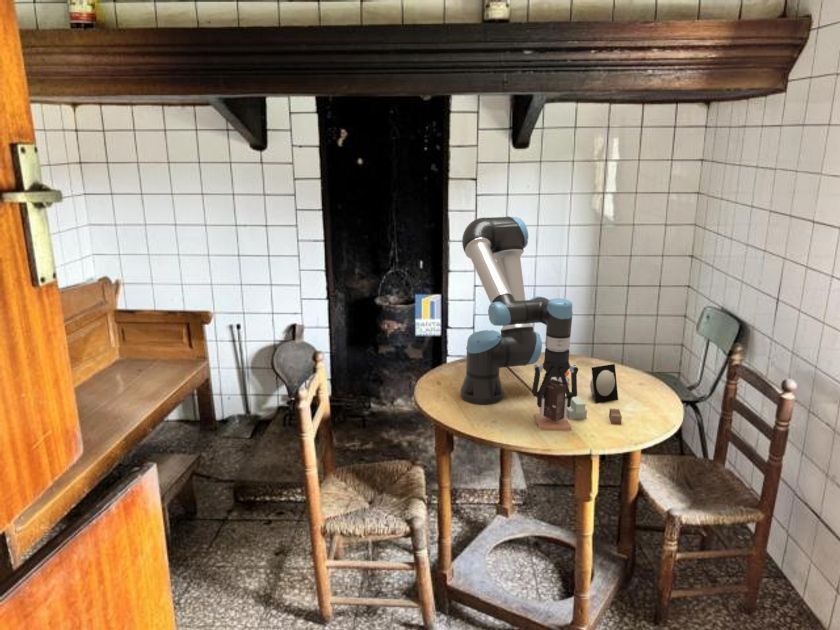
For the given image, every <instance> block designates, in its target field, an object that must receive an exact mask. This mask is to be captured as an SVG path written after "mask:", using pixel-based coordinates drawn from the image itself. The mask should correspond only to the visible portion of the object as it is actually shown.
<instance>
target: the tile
mask: <svg viewBox="0 0 840 630" xmlns="http://www.w3.org/2000/svg"><path fill="white" fill-rule="evenodd" d="M534 419H535V421H536V425H537V427H538V429H539V431H572V426H571V424H570V422H569V419H568V417H566V418H564V419H561V420H559V421H553V420H551V419H549V418H547V417H545V416H543V418H541V416H540V413H535V414H534Z"/></svg>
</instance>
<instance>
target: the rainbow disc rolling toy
mask: <svg viewBox="0 0 840 630" xmlns="http://www.w3.org/2000/svg"><path fill="white" fill-rule="evenodd" d="M569 371H570V370H568V371H567V372H566V373H565V377H566V381H567V384H568V385H569V382H570V378H569V377H568V376H569V374H570V372H569ZM545 374H546V372H545V373H544V375H543V377H542V378H543V380H544V377H545ZM551 379H554V380H556V381H559V382H561V383H562V380H561V377H552V378H551Z"/></svg>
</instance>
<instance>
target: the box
mask: <svg viewBox="0 0 840 630" xmlns="http://www.w3.org/2000/svg"><path fill="white" fill-rule="evenodd" d="M565 392H566V384H563V383H561V382H559V381H556V380H554V379H551V380H550V381H549V383H548V385H547V388H546V390H545V392H544V395H543V397H544V399H545V400H544V416H545V417H547V418H549V419H551V420H553V421H559V420H561V419H564V407H565V396H566V393H565Z"/></svg>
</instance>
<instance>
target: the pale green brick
mask: <svg viewBox="0 0 840 630" xmlns="http://www.w3.org/2000/svg"><path fill="white" fill-rule="evenodd" d="M570 407H571V408H572V409H573V410H574V411H575V413H585V409H586V403H585V402H584V401H583V400H582V398H581V397H579V396H576V397H572V399H571V404H570ZM570 407H569V408H570Z"/></svg>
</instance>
